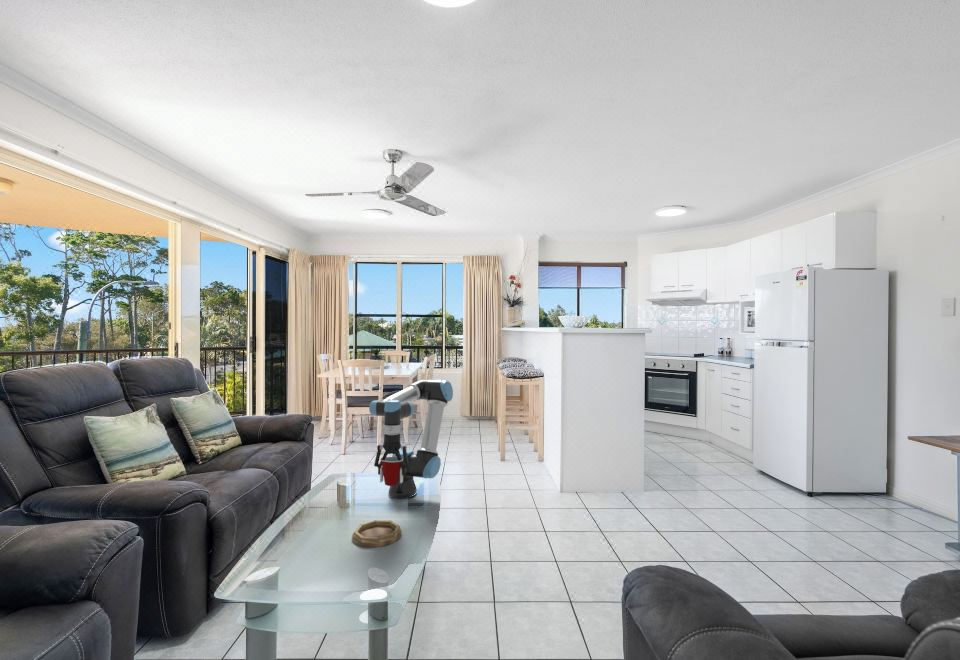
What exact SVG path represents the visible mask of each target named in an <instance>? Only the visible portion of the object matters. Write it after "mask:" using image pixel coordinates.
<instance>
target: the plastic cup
mask: <svg viewBox="0 0 960 660" xmlns="http://www.w3.org/2000/svg"><path fill="white" fill-rule="evenodd" d="M381 459H382V457H380V458H379V461H381V464H382V469H383V482H384V485H385V486H389V487H390V486H394V485H397V483H398V477H399V473H400V468H401V465H400V464H401V461H403V458H402V460H400V461H398V459H397V457H392V456H387V457H386V459H385V460H381Z"/></svg>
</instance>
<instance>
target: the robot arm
mask: <svg viewBox="0 0 960 660" xmlns="http://www.w3.org/2000/svg"><path fill="white" fill-rule="evenodd" d="M453 396H454V390H453V385H452V383H451V382H450V381H449V380H445V379H420V380H418V381H415V382H412V383H410V384H408V385H407V386H406V388H404V389H402V390H400V391H397V392H396V393H394V394H392V395H389V396H387V397H385V398H383V399H381V400H378V399H377V400H372V401H371V402H370V404H369V406H368V407H369V414H370V415H371V416H376V417H384V423H383V430H384V431H383V433H384V435H383V444H379V445H377V447H376V449H377V451H376V455H375V459H374V465H373V466H374V467H375V468H377V474H378V475H379V483H383V482H384V476H383V469H382V464H381V460H385V459H386V457H388V455H390V454H392V456H391V457H397V459H398V461H400V460H402V458H403V461H401V464H400V465H401V468H400V473H399V477H398V483H397V485H394V486H389V488H388V496H389V497H390V498H393V499H407V498H406V497H409V498H411V497H410V496H412V495H414V494H415V493H416V492H417V491H418V490H417V485H416V483H415V480H414V479H415V477H416V478H423V479H434V478H435V477H436V476H437V475H438V474H439V471H440V470H441V466H442V465H441V464H442V463H441V458H440V456H439V452H438V450H437V448H438V443H439V436H440V431H441V424H442V420H443V415H444V408H446V406H448V402H451V401H452V399H453ZM417 400H425V401H426V400H427V401H426V403H427V404H428V407H427V413H426V418H425V422H424V423H425V424H424V428H423V435H422V438H421V445H420V447H419V448H417V450H416V453H415V451H414V450H413V449H407V447H408V446H407V445H406V444H405V445H402V444H401V420H402V419H404V418H409V417H411V416H412V415H413V414H414V412H415V405H414V404H413V401H414V402H415V401H417ZM383 449H384V453H383V454H382V455H383V456H382V457H381V453H382V450H383ZM400 449H401V450H400ZM381 458H382V459H381ZM380 459H381V460H380ZM416 494H417V493H416ZM414 496H415V495H414ZM412 497H413V496H412Z"/></svg>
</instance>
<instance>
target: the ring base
mask: <svg viewBox="0 0 960 660" xmlns="http://www.w3.org/2000/svg"><path fill="white" fill-rule="evenodd" d="M402 536H403V530H402V528H401V525H399V524H398V523H396V522H395V521H393V520H388V519H387V520H383V519H374V520H370V521H368V522H364V523H361V524H359V525H358V526H357V528H356V529H355V530H354V531H353V533H352V535H351V540H352V542H353V544H355V545H356V546H359V547H363V548H381V547H386V546H390V545H393V544H394V543H396V542H398V541H399V540H400V539H401V538H402Z"/></svg>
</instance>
